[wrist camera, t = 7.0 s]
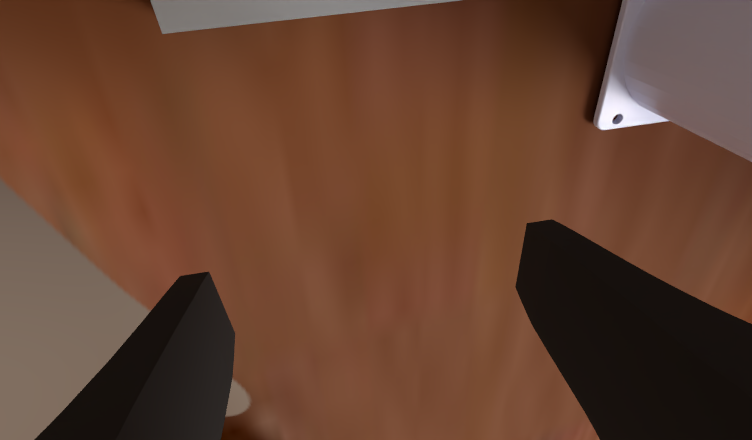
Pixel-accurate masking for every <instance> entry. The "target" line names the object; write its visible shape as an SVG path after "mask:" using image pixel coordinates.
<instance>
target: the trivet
mask: <svg viewBox="0 0 752 440" xmlns="http://www.w3.org/2000/svg"><path fill="white" fill-rule="evenodd" d="M451 1H460V0H151V3H152V6H153V9H154V12H155V14H156V17H157V20H158V23H159V26H160V28H161V31H162V34H166V33H175V32H184V31H192V30H201V29H210V28H219V27H228V26H237V25H246V24H255V23H264V22H273V21H282V20H290V19H299V18H308V17H317V16H326V15H335V14H344V13H353V12H362V11H371V10H380V9H388V8H397V7H406V6H415V5H424V4H433V3H442V2H451Z"/></svg>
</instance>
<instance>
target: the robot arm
mask: <svg viewBox="0 0 752 440" xmlns="http://www.w3.org/2000/svg"><path fill="white" fill-rule="evenodd" d="M617 114H618V116H617V118H616V119H615V120H614V121H612V120H613V118H614V117H615V116H616V115H617ZM665 121H671V122H673V123H675V124H677V125H679V126H681V127H683V128H685V129H687V130H689V131H691V132H693V133H695V134H697V135H699V136H701V137H703V138H705V139H707V140H709V141H711V142H713V143H715V144H717V145H719V146H721V147H723V148H725V149H727V150H729V151H731V152H733V153H735V154H737V155H739V156H741V157H743V158H745V159H747V160H749V161H751V162H752V0H623V1H622V5H621V9H620V13H619V17H618V21H617V25H616V30H615V34H614V38H613V42H612V46H611V50H610V54H609V58H608V62H607V66H606V70H605V75H604V79H603V83H602V87H601V91H600V95H599V99H598V103H597V107H596V111H595V115H594V121H593V123H594V125H595V126H596V127H597V128H599V129H600V130H608V129H615V128H623V127H630V126H637V125H644V124H651V123H658V122H665ZM516 289H517V292H518V294H519V296H520V299H521V301H522V304H523V306H524V308H525V310H526V313H527V315H528V317H529V319H530V321H531V323H532V325H533V327H534V329H535V331H536V332H537V334H538V336H539V337H540V339H541V341H542V342H543V344H544V346H545V347H546V349H547V351H548V352H549V354H550V356H551V357H552V359H553V361H554V362H555V364H556V366H557V367H558V369H559V370H560V372H561V374H562V375H563V377H564V379H565V380H566V382H567V384H568V385H569V387H570V388H571V390H572V392H573V393H574V395H575V397H576V398H577V400H578V402H579V403H580V405H581V406H582V408H583V410H584V411H585V413H586V415H587V417H588V418H589V420H590V422H591V424H592V426H593V427H594V429H595V431H596V433H597V435H598V437H599V439H600V440H752V324H750V323H748V322H746V321H744V320H741V319H739V318H737V317H735V316H732V315H730V314H728V313H726V312H724V311H722V310H719V309H717V308H715V307H713V306H711V305H709V304H707V303H705V302H703V301H701V300H699V299H697V298H695V297H693V296H691V295H689V294H687V293H685V292H683V291H681V290H679V289H677V288H675V287H673V286H671V285H669V284H668V283H666V282H664V281H662V280H660V279H658V278H656V277H654V276H653V275H651V274H649V273H647V272H645V271H643V270H642V269H640V268H638V267H636V266H634V265H633V264H631V263H629V262H627V261H625V260H624V259H622V258H620V257H618V256H617V255H615V254H613V253H611V252H610V251H608V250H606V249H604V248H603V247H601V246H599V245H598V244H596V243H594V242H592V241H591V240H589V239H587V238H585V237H584V236H582V235H580V234H578V233H577V232H575V231H573V230H571V229H569V228H568V227H566V226H564V225H562V224H560V223H558V222H556V221H554V220H546V221H539V222H533V223H527V226H526V231H525V237H524V243H523V248H522V254H521V259H520V265H519V271H518V276H517V282H516ZM234 344H235V332H234V330H233V327H232V325H231V323H230V320H229V318H228V315H227V313H226V311H225V308H224V306H223V304H222V301H221V299H220V297H219V294H218V292H217V289H216V287H215V285H214V282H213V280H212V278H211V275H210V273H209V272H204V273H197V274H191V275H184V276H180V277H179V278H178V279H177V280H176V282H175V283H174V284H173V285H172V286H171V287H170V289H169V290H168V291H167V292H166V293H165V295H164V296H163V297H162V298H161V300H160V301H159V302H158V303H157V304H156V306H155V307H154V308H153V309H152V310H151V312H150V313H149V314H148V315H147V317H146V318H145V319H144V320H143V322H142V323H141V324H140V325H139V326H138V327H137V329H136V330H135V331H134V332H133V333H132V334H131V336H130V337H129V338H128V339H127V340H126V342H125V343H124V344H123V345H122V346H121V347H120V349H119V350H118V351H117V352H116V353H115V354H114V356H113V357H112V358H111V359H110V360H109V361H108V363H107V364H106V365H105V366H104V367H103V368H102V369H101V370H100V371H99V372H98V373H97V374H96V375H95V377H94V378H93V379H92V380H91V381H90V382H89V383H88V384H87V385H86V386H85V387H84V389H83V390H82V391H81V392H80V393H79V394H78V395H77V396H76V397H75V398H74V399H73V401H72V402H71V403H70V404H69V405H68V406H67V407H66V408H65V409H64V410H63V411H62V412H61V413H60V414H59V415H58V416H57V417H56V419H55V420H54V421H53V422H52V423H51V424H50V425H49V426H48V427H47V428H46V429H45V430H44V431H43V432H42V433H41V434H40V435H39V436H38V437H37V438H36V439H35V440H221V435H222V430H223V425H224V420H225V415H226V409H227V404H228V398H229V393H230V388H231V382H232V375H233V362H234Z"/></svg>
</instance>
